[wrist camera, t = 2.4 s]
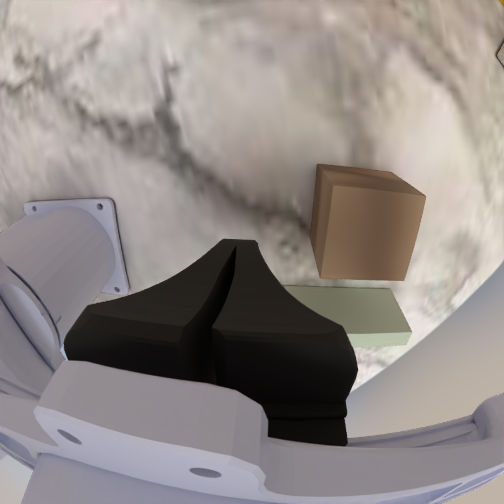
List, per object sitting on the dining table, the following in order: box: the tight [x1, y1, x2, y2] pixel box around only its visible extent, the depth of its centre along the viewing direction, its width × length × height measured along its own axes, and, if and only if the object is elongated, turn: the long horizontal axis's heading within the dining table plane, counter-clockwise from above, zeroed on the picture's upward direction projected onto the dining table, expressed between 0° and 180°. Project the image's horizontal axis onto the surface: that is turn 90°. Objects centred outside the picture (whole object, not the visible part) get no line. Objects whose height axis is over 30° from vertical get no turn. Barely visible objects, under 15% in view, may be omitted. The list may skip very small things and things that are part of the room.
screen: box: [282, 285, 412, 347], centre depth 20 cm, size 15×3×5 cm, turn 89°
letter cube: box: [310, 164, 426, 281], centre depth 16 cm, size 5×5×5 cm
